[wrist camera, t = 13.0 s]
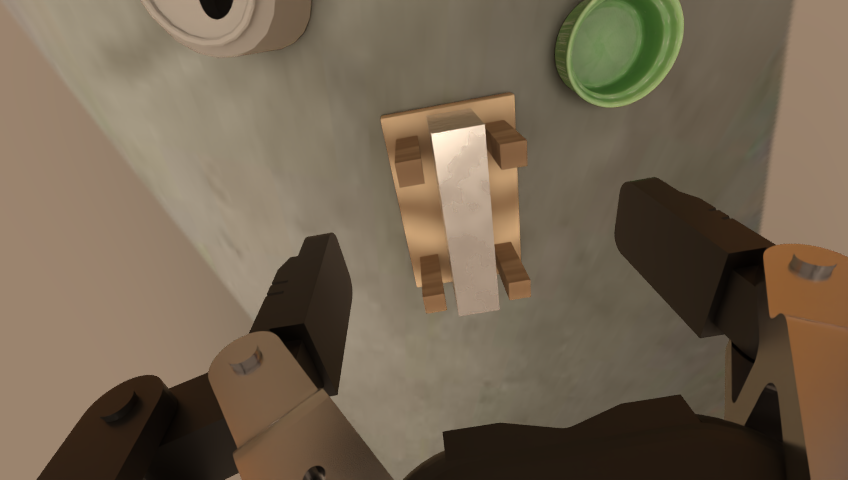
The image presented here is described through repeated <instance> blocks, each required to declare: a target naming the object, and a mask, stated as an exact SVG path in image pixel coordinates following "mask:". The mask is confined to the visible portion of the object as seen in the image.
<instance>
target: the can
mask: <svg viewBox="0 0 848 480" xmlns="http://www.w3.org/2000/svg"><path fill="white" fill-rule="evenodd" d="M141 2H142V3H143V5H144V6H145V8H146V9H147V11H148V12H149V14H150V15H151V16H152V17H153V18H154V19H155V20H156V21H157V22H158V23H159V24H160V25H161V26H162V27H163V28H164V29H165V30H166V31H167V32H168V33H169V34H170V35H171V36H172V37H173V38H174V39H175V40H176V41H178V42H180V43H182V44H183V45H185V46H187V47H188V48H190V49H192V50H194V51H195V52H197V53H201V54H205V55H209V56H213V57H217V58H221V57H234V56H242V55H248V54H254V53H260V52H266V51H272V50H278V49H283V48H285V47H287V46H289V45H291V44H293V43H295V41H296V40H297V39H298V38H299V37H300V36H301V35H302V34H303V33H304V31H305V29H306V26H307V24H308V21H309V19H310V11H311V0H141Z"/></svg>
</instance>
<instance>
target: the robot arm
mask: <svg viewBox="0 0 848 480" xmlns="http://www.w3.org/2000/svg"><path fill="white" fill-rule="evenodd" d="M615 242H616V245H617V248H618V250H619V251H620V253H621V254H622V255H623V256H624V257H625V258H626V259H627V260H628V261H629V263H630V264H631V265H632V266H633V267H634V268H635V269H636V270H637V271H638V272H639V273H640V274H641V275H642V277H643V278H644V279H645V280H646V281H647V282H648V283H649V284H650V285H651V286H652V287H653V288H654V289H655V290H656V292H657V293H658V294H659V295H660V296H661V297H662V298H663V299H664V300H665V301H666V302H667V303H668V304H669V305H670V307H671V308H672V309H673V310H674V311H675V312H676V313H677V314H678V315H679V316H680V317H681V318H682V319H683V320H684V322H685V323H686V324H687V325H688V326H689V327H690V328H691V329H692V330H693V331H694V332H695V333H696V334H697V336H698V337H699V338H704V337H711V336H717V335H723V334H725V335H726V336H727V337H728V338H729V341H728V344H727V346H726V350H725V412H724V420H723V419H720V418H716V417H710V416H705V415H699V414H695V413H694V412H693V411H692V409H691V408H690V407H689V405H688V404H687V403H686V401H685V400H684V399H683V397H682V396H681V395H674V396H668V397H661V398H655V399H649V400H642V401H636V402H629V403H623V404H620V405H617V406H615V407H613V408H611V409H609V410H607V411H604V412H602V413H600V414H598V415H596V416H594V417H591V418H589V419H587V420H585V421H583V422H581V423H578V424H576V425H574V426H572V427H569V428H552V427H541V426H530V425H519V424H509V423H495V424H489V425H482V426H476V427H470V428H463V429H457V430H450V431H444V432H443V440H444V449H445V450H444V451H442V452H440V453H438V454H436V455H434V456H432V457H431V458H429V459H427V460H426V461H424V462H423V463H421V464H420V465H419V466H417V467H416V468H415V469H414V470H413V471H411V472H410V473H409V474H408V475H407V476H406V477H405V478H404V479H403V480H848V257H847V256H844V255H842V254H840V253H837V252H834V251H831V250H828V249H825V248H821V247H816V246H811V245H805V244H780V245H775V244H774V243H772V242H770V241H769V240H767V239H765V238H764V237H762V236H761V235H759V234H757V233H756V232H754V231H752V230H751V229H749V228H747V227H746V226H744V225H743V224H741V223H739V222H738V221H736V220H734V219H733V218H732V219H730V218H729V216H728V215H726V214H725V213H723V212H721V211H720V210H716V208H715V207H713V206H712V205H710V204H708V203H707V202H705V201H703V200H702V199H700V198H698V197H694V196H691V195H688V194H685V193H682V192H679V191H678V190H676V189H674V188H673V187H671V186H670V185H668V184H667V183H665V182H663V181H662V180H660V179H659V178H656V177H652V178H647V179H641V180H635V181H629V182H625V183H624V184H623V185H622V187H621V189H620V194H619V202H618V209H617V217H616V224H615ZM351 303H352V284H351V279H350V275H349V272H348V269H347V266H346V263H345V260H344V257H343V255H342V252H341V249H340V246H339V243H338V240H337V238H336V236H335V234H334V233H327V234H321V235H316V236H310V237H306V238H305V240H304V242H303V245H302V247H301V250H300V252H299V255H298V256H296V257H290V258H289V259H288V260H287V261H286V262H285V263H284V264H283V265H282V266H281V267H280V268H279V269H278V271H277V273H276V275H275V277H274V280H273V282H272V285H271V286H270V288H269V291H268V293H267V297H265V299H264V302H263V304H262V306H261V308H260V310H259V312H258V315H257V317H256V319H255V321H254V323H253V326H252V328H251V330H250V332H249V334H247V335H245V336H242V337H240V338H238V339H236V340H234V341H233V342H231V343H230V344H229V345H227V346H226V347H225V348H223V349H222V350H221V351H220V352H219V354H218V355H217V356H216V357H215V358H214V360H213V361H212V363H211V365H210V367H209V371H208V373H206V374H204V375H201V376H199V377H196V378H194V379H191V380H189V381H186V382H184V383H181V384H179V385H177V386H174V387H172V388H169V389H168V387H167V386H166V385H165V384H164V383H163V381H162V380H161V379H160V378H159V377H157V376H154V375H144V376H139V377H135V378H132V379H130V380H127V381H125V382H123V383H121V384H119V385H117V386H116V387H114V388H112V389H111V390H109V391H108V392H106V393H105V394H104V395H103V396H101V397H100V398H99V399H98V400H97V401H95V402H94V403H93V404H92V406H90V407H89V408H88V410H87V411H86V412H85V413H84V415H83V416H82V417H81V419H80V420H79V421H78V423H77V424H76V426H75V427H74V428H73V430H72V431H71V433H70V434H69V435H68V437H67V438H66V439H65V441H64V442H63V444H62V445H61V446H60V448H59V449H58V451H57V452H56V453H55V455H54V456H53V458H52V459H51V460H50V462H49V463H48V464H47V466H46V467H45V469H44V470H43V471H42V473H41V474H40V476H39V477H38V478H37V480H225V479H227V478H229V477H231V476H233V475H235V474H237V473H239V474H240V476H241V479H242V480H393V478H392V477H391V476H390V474H389V473H388V472H387V470H386V469H385V468H384V467H383V465H382V464H381V463H380V461H379V460H378V459H377V458H376V456H375V455H374V454H373V452H372V451H371V450H370V448H369V447H368V446H367V445H366V443H365V442H364V441H363V439H362V438H361V437H360V435H359V434H358V433H357V432H356V430H355V429H354V428H353V426H352V425H351V424H350V423H349V421H348V420H347V419H346V417H345V416H344V415H343V413H342V412H341V411H340V410H339V408H338V407H337V406H336V404H335V403H334V402H333V401H332V399H331V398H330V397H329V396H335V395H338V388H339V381H340V375H341V368H342V362H343V355H344V349H345V342H346V335H347V329H348V322H349V316H350V309H351Z"/></svg>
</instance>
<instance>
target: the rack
mask: <svg viewBox="0 0 848 480" xmlns="http://www.w3.org/2000/svg"><path fill="white" fill-rule="evenodd" d="M468 108H471V109H472V110H473V111H474V113H475V114H476V115H477V116H478V117H479V118H480V120H481V121H482V122H483V123H484V124H485V134H486V147H487V159H488V172H489V184H490V197H491V209H492V222H493V234H494V247H495V259H496V272H497V274H500V277H501V279H502V282H503V285H504V287H505V290H506V292H507V295H508V297H509V300H513V299H519V298H526V297H531V290H530V278H529V276H528V274H527V272H526V270H525V268H524V267H523V265H522V263H521V251H520V226H519V201H518V176H517V167H522V166H527V140H526V139H525V138H524V137H523V136H522V135H521V134H519V133H518V132H517V131H516V126H515V101H514V94H512V93H510V92H508V93H503V94H497V95H492V96H486V97H481V98H475V99H470V100H465V101H459V102H454V103H448V104H443V105H437V106H432V107H426V108H421V109H415V110H410V111H404V112H399V113H393V114H388V115H382V116H381V119H380V120H381V124H382V129H383V133H384V138H385V143H386V147H387V152H388V156H389V161H390V165H391V170H392V175H393V179H394V184H395V188H396V193H397V197H398V202H399V207H400V211H401V216H402V220H403V225H404V229H405V234H406V239H407V243H408V248H409V252H410V257H411V261H412V266H413V271H414V275H415V280H416V284H417V287H422V292H423V300H424V305H425V310H426V313H433V312H439V311H445V310H447V307H446V300H445V294H444V288H443V283H446V282H452V277H451V271H450V265H449V258H448V252H447V245H446V239H445V233H444V226H443V220H442V213H441V207H440V200H439V194H438V188H437V181H436V175H435V168H434V162H433V156H432V149H431V143H430V136H429V130H428V124H427V117H426V116H429V115H435V114H440V113H446V112H451V111H457V110H463V109H468Z"/></svg>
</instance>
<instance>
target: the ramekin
mask: <svg viewBox="0 0 848 480" xmlns="http://www.w3.org/2000/svg"><path fill="white" fill-rule="evenodd" d="M683 32H684V18H683V12H682V8H681V5H680V2H679V0H584V1H582V2H581V3H580V4H578V5H577V6H576V7H575V8H574V9H573V10H572V12H571V13H570V14H569V15H568V17H567V18H566V20H565V21H564V23H563V25H562V27H561V29H560V31H559V34H558V37H557V42H556V48H555V62H556V67H557V71H558V73H559V75H560V77H561V79H562V80H563V82H564V83H565V84H566V85H567V86H568V87H569V88H570V89H572V90H573V91H574V92H576V93H577V94H578V95H579V96H580V97H581V98H582V99H584V100H585V101H587V102H588V103H591V104H593V105H596V106H600V107H608V108H613V107H620V106H625V105H628V104H631V103H633V102H635V101H637V100H639V99H641V98H643V97H644V96H646V95H647V94H648V93H650V92H651V91H652V90H653V89H654V88H655V87H656V86H658V84H659V83H660V82H661V81H662V80H663V79H664V78H665V76H666V75H667V74H668V72H669V71H670V69H671V67H672V66H673V64H674V62H675V60H676V58H677V55H678V53H679V50H680V47H681V44H682V39H683Z"/></svg>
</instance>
